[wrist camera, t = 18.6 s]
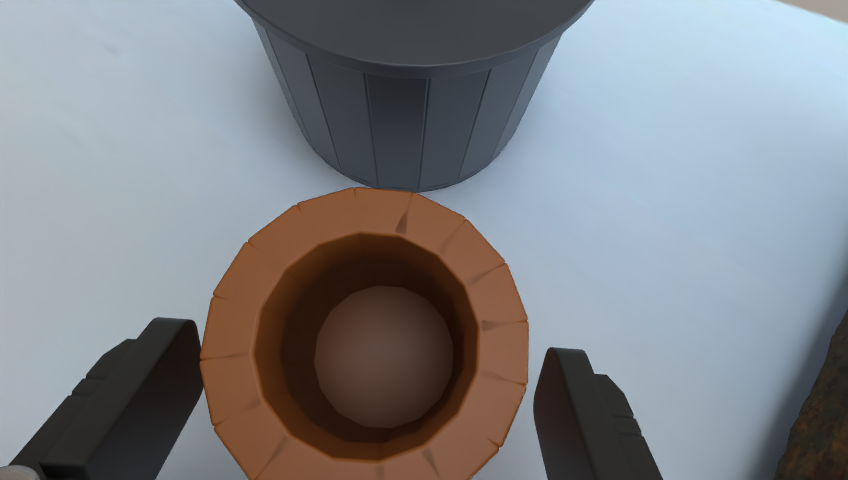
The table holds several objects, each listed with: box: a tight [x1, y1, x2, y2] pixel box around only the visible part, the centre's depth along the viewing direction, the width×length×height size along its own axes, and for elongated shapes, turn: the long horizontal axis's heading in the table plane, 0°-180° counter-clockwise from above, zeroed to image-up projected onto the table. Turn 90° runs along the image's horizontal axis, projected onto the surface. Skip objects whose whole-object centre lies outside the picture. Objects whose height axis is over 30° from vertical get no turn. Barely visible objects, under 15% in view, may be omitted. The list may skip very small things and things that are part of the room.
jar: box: [200, 187, 529, 480], centre depth 14 cm, size 6×6×10 cm
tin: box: [252, 19, 562, 192], centre depth 17 cm, size 11×11×9 cm
